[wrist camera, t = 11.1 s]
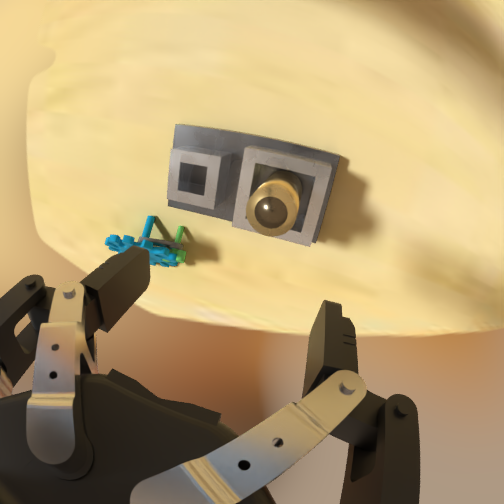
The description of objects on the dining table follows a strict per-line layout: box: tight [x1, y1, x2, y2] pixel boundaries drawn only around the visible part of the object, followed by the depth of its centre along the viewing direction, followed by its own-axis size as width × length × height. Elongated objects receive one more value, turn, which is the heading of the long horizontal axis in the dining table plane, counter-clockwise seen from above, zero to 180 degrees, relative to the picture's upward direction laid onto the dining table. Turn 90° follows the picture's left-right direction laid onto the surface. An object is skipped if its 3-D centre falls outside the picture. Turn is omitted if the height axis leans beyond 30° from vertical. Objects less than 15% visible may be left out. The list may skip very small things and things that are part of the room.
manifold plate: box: [167, 124, 340, 247], centre depth 28 cm, size 10×18×5 cm, turn 80°
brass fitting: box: [246, 171, 302, 237], centre depth 25 cm, size 4×4×8 cm
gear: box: [105, 216, 186, 267], centre depth 34 cm, size 11×6×10 cm
